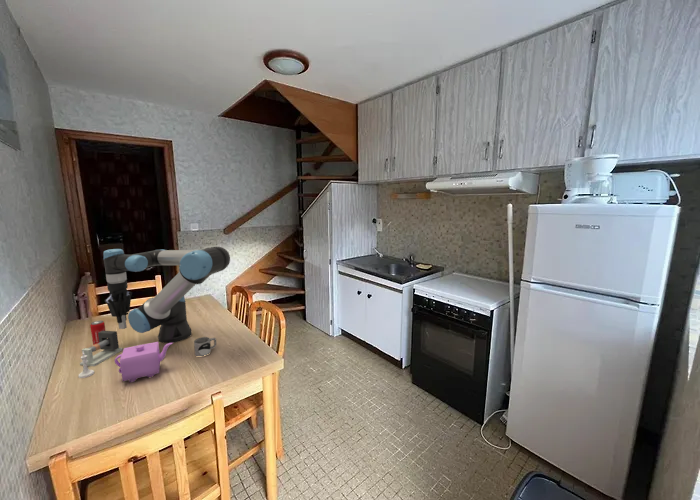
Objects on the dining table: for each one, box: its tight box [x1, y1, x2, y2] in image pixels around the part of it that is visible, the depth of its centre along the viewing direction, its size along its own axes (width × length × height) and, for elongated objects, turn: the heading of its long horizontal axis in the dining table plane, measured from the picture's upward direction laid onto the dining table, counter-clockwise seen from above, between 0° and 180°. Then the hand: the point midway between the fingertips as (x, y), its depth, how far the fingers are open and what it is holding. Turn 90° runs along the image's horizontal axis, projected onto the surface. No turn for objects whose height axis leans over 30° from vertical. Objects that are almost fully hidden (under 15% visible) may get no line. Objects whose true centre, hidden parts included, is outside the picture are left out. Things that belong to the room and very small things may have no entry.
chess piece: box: [78, 351, 95, 379], centre depth 119 cm, size 5×5×10 cm
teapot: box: [114, 341, 174, 383], centre depth 120 cm, size 20×10×12 cm, turn 120°
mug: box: [193, 336, 217, 357], centre depth 138 cm, size 10×7×7 cm, turn 143°
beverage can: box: [89, 320, 106, 346], centre depth 142 cm, size 5×5×12 cm
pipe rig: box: [79, 338, 124, 367], centre depth 132 cm, size 14×7×7 cm, turn 173°
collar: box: [98, 330, 120, 351], centre depth 136 cm, size 2×7×8 cm, turn 84°
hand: (122, 328), depth 143 cm, fingers closed
